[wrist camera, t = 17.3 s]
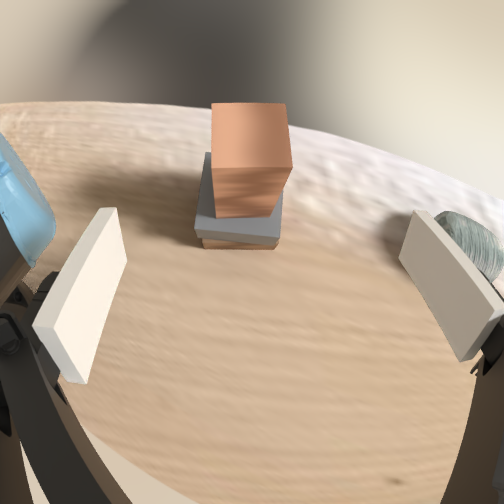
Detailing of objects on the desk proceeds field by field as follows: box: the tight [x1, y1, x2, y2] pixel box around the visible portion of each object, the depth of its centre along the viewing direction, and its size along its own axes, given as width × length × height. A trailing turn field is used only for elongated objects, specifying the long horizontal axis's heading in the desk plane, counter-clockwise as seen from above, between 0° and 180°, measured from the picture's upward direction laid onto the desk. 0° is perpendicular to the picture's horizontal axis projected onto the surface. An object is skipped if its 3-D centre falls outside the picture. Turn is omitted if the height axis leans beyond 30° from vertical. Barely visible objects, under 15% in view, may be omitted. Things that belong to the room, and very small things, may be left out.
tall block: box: [211, 103, 293, 219], centre depth 25 cm, size 5×5×11 cm
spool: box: [434, 211, 504, 283], centre depth 36 cm, size 14×10×10 cm
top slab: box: [194, 152, 283, 246], centre depth 32 cm, size 8×8×4 cm
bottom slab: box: [202, 238, 279, 250], centre depth 36 cm, size 8×8×4 cm
